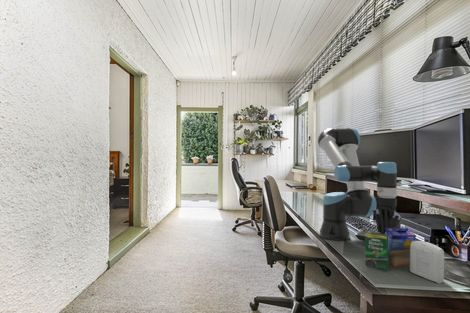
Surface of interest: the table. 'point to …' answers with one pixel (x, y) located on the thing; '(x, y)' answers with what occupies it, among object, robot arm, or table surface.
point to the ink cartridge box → (399, 238)
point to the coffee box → (376, 250)
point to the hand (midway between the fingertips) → (386, 250)
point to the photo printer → (427, 261)
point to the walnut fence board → (399, 259)
